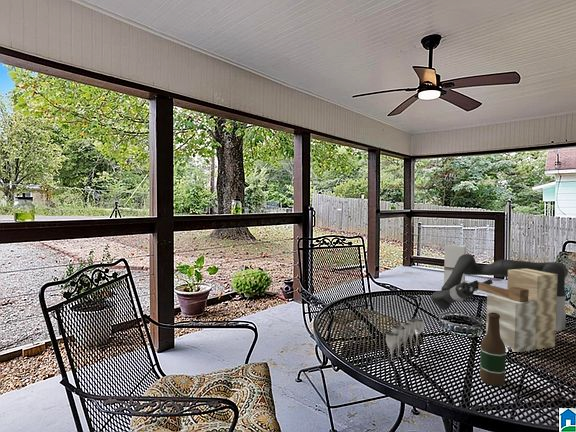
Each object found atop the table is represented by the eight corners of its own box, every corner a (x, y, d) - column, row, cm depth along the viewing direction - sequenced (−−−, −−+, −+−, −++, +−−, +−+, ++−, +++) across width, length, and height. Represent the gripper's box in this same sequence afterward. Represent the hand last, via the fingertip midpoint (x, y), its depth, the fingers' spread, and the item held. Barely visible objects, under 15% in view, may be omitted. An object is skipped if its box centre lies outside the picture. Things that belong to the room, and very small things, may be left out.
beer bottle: (474, 375, 128) (476, 310, 127) (495, 375, 129) (497, 309, 128) (488, 387, 121) (490, 317, 120) (510, 386, 121) (512, 316, 120)
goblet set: (395, 369, 133) (396, 334, 133) (381, 364, 137) (382, 330, 137) (426, 347, 153) (426, 317, 153) (413, 343, 157) (413, 314, 157)
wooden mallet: (484, 289, 172) (485, 278, 172) (528, 301, 151) (528, 289, 151) (476, 289, 171) (477, 279, 170) (519, 302, 150) (520, 290, 150)
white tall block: (464, 297, 236) (466, 245, 235) (462, 301, 227) (464, 247, 226) (446, 295, 242) (447, 244, 241) (443, 298, 233) (444, 245, 232)
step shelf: (524, 335, 169) (526, 268, 168) (554, 346, 156) (557, 274, 155) (485, 340, 161) (487, 271, 160) (514, 353, 148) (516, 277, 147)
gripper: (475, 297, 183) (499, 288, 169) (452, 300, 178) (476, 290, 165) (469, 283, 186) (493, 273, 172) (447, 285, 182) (469, 275, 168)
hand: (484, 281), depth 169 cm, fingers open, 8 cm apart
